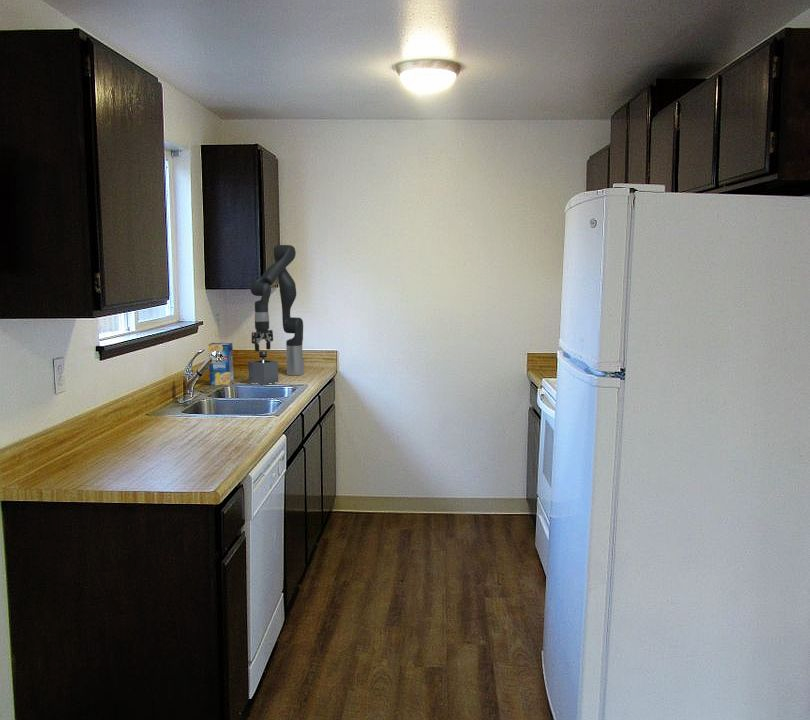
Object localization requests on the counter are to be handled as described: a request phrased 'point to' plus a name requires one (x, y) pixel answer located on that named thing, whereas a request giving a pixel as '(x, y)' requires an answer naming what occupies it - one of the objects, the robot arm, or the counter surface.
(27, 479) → the counter surface
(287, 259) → the robot arm
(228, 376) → the beverage box
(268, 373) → the gray open box
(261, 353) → the plunger
